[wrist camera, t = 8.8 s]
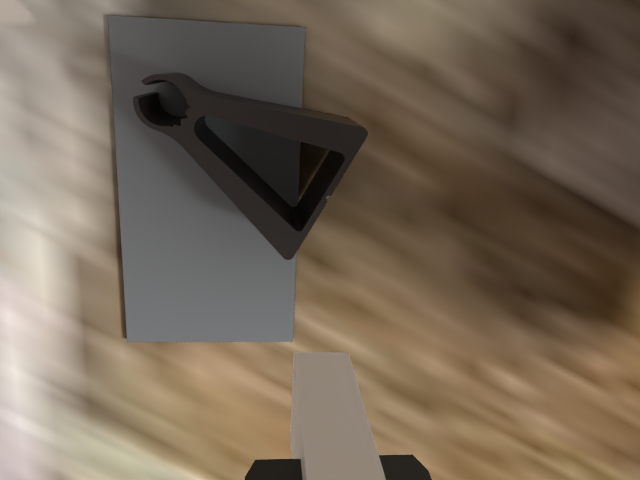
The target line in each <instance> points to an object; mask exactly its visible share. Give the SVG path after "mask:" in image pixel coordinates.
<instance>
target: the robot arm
mask: <svg viewBox="0 0 640 480" xmlns="http://www.w3.org/2000/svg"><path fill="white" fill-rule="evenodd" d="M290 442H291V456H292V459H269V460H255V461H254V463H253V465H252V466H251V468H250V470H249V471H248V473H247V475H246V476H245V480H432V479H431V477H430V474H429V472H428V470H427V469H426V468H425V467H424V466H423V465H422V464H421V463H420V462H419V461H418V460H417V459H416V458H415V457H414V456H413V455H379V454H378V451H377V448H376V444H375V441H374V437H373V434H372V431H371V427H370V424H369V420H368V417H367V414H366V410H365V407H364V403H363V400H362V397H361V393H360V390H359V386H358V383H357V380H356V376H355V373H354V369H353V366H352V363H351V359H350V356H349V352H307V353H294V358H293V382H292V407H291V431H290Z"/></svg>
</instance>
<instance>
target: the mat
mask: <svg viewBox="0 0 640 480" xmlns="http://www.w3.org/2000/svg"><path fill="white" fill-rule="evenodd" d="M108 28H109V45H110V62H111V79H112V95H113V112H114V129H115V146H116V163H117V179H118V196H119V213H120V230H121V247H122V264H123V280H124V297H125V314H126V331H127V342H293V325H294V300H295V275H296V254H295V255H294V257H293V258H292V259H290V260H286V259H284V258H283V257H282V256H281V255H280V254H279V253H278V252H277V251H276V249H275V248H274V247H273V246H272V245H271V244H270V243H269V242H268V241H267V240H266V238H265V237H264V236H263V235H262V234H261V233H260V232H259V231H258V230H257V229H256V227H255V226H254V225H253V224H252V223H251V222H250V221H249V220H248V219H247V218H246V216H245V215H244V214H243V213H242V212H241V211H240V210H239V209H238V208H237V207H236V205H235V204H234V203H233V202H232V201H231V200H230V199H229V198H228V197H227V196H226V194H225V193H224V192H223V191H222V190H221V189H220V188H219V187H218V186H217V185H216V183H215V182H214V181H213V180H212V179H211V178H210V177H209V176H208V175H207V174H206V172H205V171H204V170H203V169H202V168H201V167H200V166H199V165H198V164H197V163H196V161H195V160H194V159H193V158H192V157H191V156H190V155H189V154H188V153H187V152H186V150H185V149H184V148H183V147H182V146H181V145H180V144H179V143H178V142H176V141H175V140H174V139H172V138H171V137H169V136H168V135H166V134H164V133H162V132H159V131H156V130H154V129H151V128H149V127H148V126H146V125H145V124H144V123H143V122H142V121H141V120H140V119H139V117H138V116H137V114H136V112H135V109H134V106H133V97H134V96H138V95H142V94H146V93H150V92H158V97H159V102H160V104H161V106H162V108H163V109H164V110H165V111H166V112H167V113H169V114H171V115H173V116H177V117H183V116H184V117H185V116H186V113H185V111H186V110H187V109H189V108H191V107H190V106H189V105H188V104H187V103H186V100H187V98H185V97H184V95H183V93H182V92H181V90H180V89H179V88H178V87H177V86H176V85H175V84H173V83H171V82H169V81H165V82H162V83H156V84H150V85H144V84H143V83H142V82H141V81H142V80H143V79H144V78H146V77H148V76H150V75H154V74H165V73H182V74H185V75H188V76H189V77H191V78H192V79H193V80H195V81H196V82H197V83H198V84H200V85H201V86H203V87H205V88H207V89H209V90H212V91H215V92H220V93H225V94H230V95H235V96H240V97H245V98H250V99H255V100H260V101H266V102H271V103H276V104H281V105H286V106H291V107H296V108H301V109H302V98H303V73H304V48H305V27H293V26H276V25H260V24H243V23H227V22H210V21H194V20H177V19H160V18H144V17H127V16H111V15H108ZM205 123H206V125H207V126H208V127H209V128H210V129H211V130H212V131H213V132H214V133H215V134H216V135H217V136H218V137H219V138H220V139H221V140H222V141H223V142H224V143H225V144H226V145H227V146H228V147H230V148H231V149H232V150H233V151H234V152H235V153H236V154H237V155H238V156H239V157H240V158H241V159H242V160H243V161H244V162H245V163H246V164H247V165H248V166H249V167H250V168H251V169H252V170H254V171H255V172H256V173H257V174H258V175H259V176H260V177H261V178H262V179H263V180H264V181H265V182H266V183H267V184H268V185H269V186H270V187H271V188H272V189H273V190H274V191H275V192H276V193H278V194H279V195H280V196H281V197H282V198H283V199H284V200H285V201H286V202H287V203H288V204H289V205H290V206H291V207H295V206H297V204H298V199H299V174H300V149H301V141H297V140H294V139H290V138H287V137H283V136H280V135H276V134H272V133H269V132H265V131H262V130H258V129H255V128H251V127H248V126H244V125H241V124H237V123H234V122H230V121H227V120H223V119H220V118H216V117H213V116H205Z"/></svg>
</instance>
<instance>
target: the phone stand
mask: <svg viewBox="0 0 640 480" xmlns="http://www.w3.org/2000/svg"><path fill="white" fill-rule="evenodd" d="M165 81H169V82H171V83H173V84H175V85H176V86H177V87H178V88H179V89H180V90H181V92H182V93H183V95H184V97H185V98H187V100H186V103H187V104H188V105H189V106H190V107H191V108H189V109H187V110H186V111H185V113H186V116H185V117H184V116H183V117H177V116H173V115H171V114H169V113H167V112H166V111H165V110H164V109H163V108H162V106H161V104H160V102H159V97H158V92H150V93H146V94H142V95H138V96H134V97H133V106H134V109H135V112H136V114H137V116H138V117H139V119H140V120H141V121H142V122H143V123H144V124H145V125H146V126H148V127H149V128H151V129H154V130H156V131H159V132H162V133H164V134H166V135H168V136H169V137H171V138H172V139H174V140H175V141H176V142H178V143H179V144H180V145H181V146H182V147H183V148H184V149H185V150H186V152H187V153H188V154H189V155H190V156H191V157H192V158H193V159H194V160H195V161H196V163H197V164H198V165H199V166H200V167H201V168H202V169H203V170H204V171H205V172H206V174H207V175H208V176H209V177H210V178H211V179H212V180H213V181H214V182H215V183H216V185H217V186H218V187H219V188H220V189H221V190H222V191H223V192H224V193H225V194H226V196H227V197H228V198H229V199H230V200H231V201H232V202H233V203H234V204H235V205H236V207H237V208H238V209H239V210H240V211H241V212H242V213H243V214H244V215H245V216H246V218H247V219H248V220H249V221H250V222H251V223H252V224H253V225H254V226H255V227H256V229H257V230H258V231H259V232H260V233H261V234H262V235H263V236H264V237H265V238H266V240H267V241H268V242H269V243H270V244H271V245H272V246H273V247H274V248H275V249H276V251H277V252H278V253H279V254H280V255H281V256H282V257H283V258H284V259H286V260H290V259H292V258H293V257H294V255H295V254H296V252H297V250H298V249H299V247H300V245H301V244H302V242H303V241H304V239H305V237H306V236H307V234H308V232H309V231H310V229H311V227H312V226H313V224H314V223H315V221H316V219H317V218H318V216H319V214H320V213H321V211H322V209H323V208H324V206H325V205H326V203H327V199H326V197H327V196H331V195H332V193H333V191H334V190H335V188H336V187H337V185H338V183H339V182H340V180H341V178H342V177H343V175H344V173H345V172H346V170H347V168H348V167H349V165H350V164H351V162H352V160H353V159H354V157H355V155H356V154H357V152H358V150H359V149H360V147H361V146H362V144H363V142H364V141H365V139H366V137H367V135H368V132H367V130H366V129H365V128H364V127H362V126H361V125H359V124H357V123H356V122H354V121H353V120H351V119H349V118H347V117H342V116H337V115H332V114H326V113H321V112H316V111H311V110H306V109H301V108H296V107H291V106H286V105H281V104H276V103H271V102H266V101H260V100H255V99H250V98H245V97H240V96H235V95H230V94H225V93H220V92H215V91H212V90H209V89H207V88H205V87H203V86H201V85H200V84H198V83H197V82H196V81H195V80H193V79H192V78H191V77H189V76H188V75H185V74H182V73H165V74H154V75H150V76H148V77H146V78H144V79H143V80H142V81H141V82H142V83H143V84H144V85H150V84H156V83H162V82H165ZM205 116H213V117H216V118H220V119H223V120H227V121H230V122H234V123H237V124H241V125H244V126H248V127H251V128H255V129H258V130H262V131H265V132H269V133H272V134H276V135H280V136H283V137H287V138H290V139H294V140H297V141H301V142H304V143H308V144H311V145H315V146H318V147H322V148H325V149H329V150H330V151H329V152H328V154H327V156H326V157H325V159H324V161H323V162H322V164H321V166H320V167H319V169H318V171H317V173H316V174H315V176H314V178H313V179H312V181H311V183H310V184H309V186H308V188H307V189H306V191H305V193H304V194H303V196H302V198H301V199H300V201H299V203H298V204H297V206H295V207H291V206H290V205H289V204H288V203H287V202H286V201H285V200H284V199H283V198H282V197H281V196H280V195H279V194H278V193H276V192H275V191H274V190H273V189H272V188H271V187H270V186H269V185H268V184H267V183H266V182H265V181H264V180H263V179H262V178H261V177H260V176H259V175H258V174H257V173H256V172H255V171H254V170H252V169H251V168H250V167H249V166H248V165H247V164H246V163H245V162H244V161H243V160H242V159H241V158H240V157H239V156H238V155H237V154H236V153H235V152H234V151H233V150H232V149H231V148H230V147H228V146H227V145H226V144H225V143H224V142H223V141H222V140H221V139H220V138H219V137H218V136H217V135H216V134H215V133H214V132H213V131H212V130H211V129H210V128H209V127H208V126H207V125H206V123H205Z"/></svg>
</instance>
